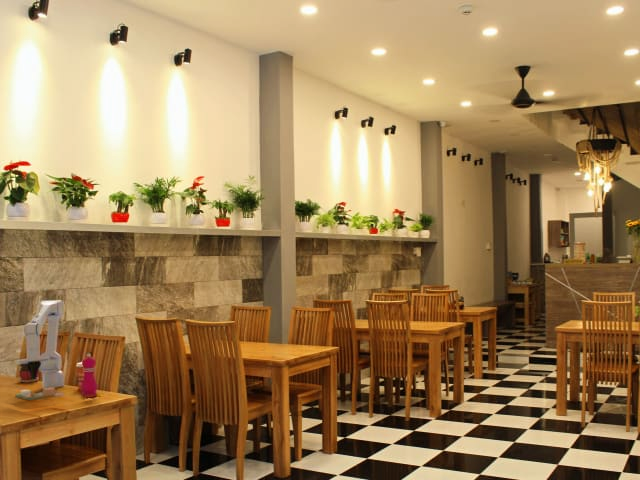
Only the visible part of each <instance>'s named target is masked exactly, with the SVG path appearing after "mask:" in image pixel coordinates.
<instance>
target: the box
mask: <svg viewBox="0 0 640 480" xmlns="http://www.w3.org/2000/svg"><path fill="white" fill-rule="evenodd" d="M15 398H18V399H19V398H20V399H24V400H27V401H33V400H38V399H43V398H45V399H46V397H45V395H42V396H36V395H35V396H31V397H26V396H22V395H20V393H18V394H17V393H16V394H15Z"/></svg>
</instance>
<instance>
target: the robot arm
mask: <svg viewBox="0 0 640 480" xmlns="http://www.w3.org/2000/svg"><path fill="white" fill-rule="evenodd" d="M63 315H64V303H63V301H62V300H61V299H59V300H58V299H57V300H41V302H39V312H38V313H36V314H35V315H34V316H33V317H32V319H31V320H30V322H28V323H26V324H25V325H24V327H23V334H24V339H25V341H26V342H25V343H26V358H23V359H17V360H16V365H19V366H20V364H26V366H27V367H28V369H29V372H30V375H31V378H32V379H35V378H36V376H37V372H38V369H39V372H40V373H41V374H42V389H45V388H55V389H56V388H62V387H64V386H65V376H64V373H63V371H62V370H61V369H62V367H63V361H62V355H61V354H59V353H58V352H57V344H58V338H59V337H58V334H59V324H60V319H61V318H63ZM47 320H48V324H47V333H46V344H45V345H46V346H45V351H44V352H43V353H42V354H41V346H40V345H41V344H40V343H41V341H40V340H41V339H40V336H41V335H42V332H43V326H44V324H45V323H46V321H47ZM30 361H32V362H30Z"/></svg>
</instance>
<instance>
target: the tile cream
mask: <svg viewBox="0 0 640 480" xmlns="http://www.w3.org/2000/svg"><path fill="white" fill-rule="evenodd" d="M19 391H20V393H19V394H20V395H22V396H26V397H32V390H31V389H22V390H19Z"/></svg>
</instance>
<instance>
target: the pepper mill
mask: <svg viewBox="0 0 640 480" xmlns="http://www.w3.org/2000/svg"><path fill="white" fill-rule="evenodd" d="M81 362H82V365H83V367H84V368H83V369H84V370H83V371H84V380H83V383H82V386H81V390H80V391H81V392H82V394H81V395H82V396H87V397H85V398H86V400H87V399H88V398H90V399H95V398H97V390H98V388H99V387H98V382H97V381H96V378H95V373H94V372H95V366H96V364H97V363H96V362H97V361H96V359H95V358H94V357H92V356H91V354H90V353H87V354H86V357H84V358H83V360H82V361H81ZM88 400H89V399H88Z"/></svg>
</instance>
